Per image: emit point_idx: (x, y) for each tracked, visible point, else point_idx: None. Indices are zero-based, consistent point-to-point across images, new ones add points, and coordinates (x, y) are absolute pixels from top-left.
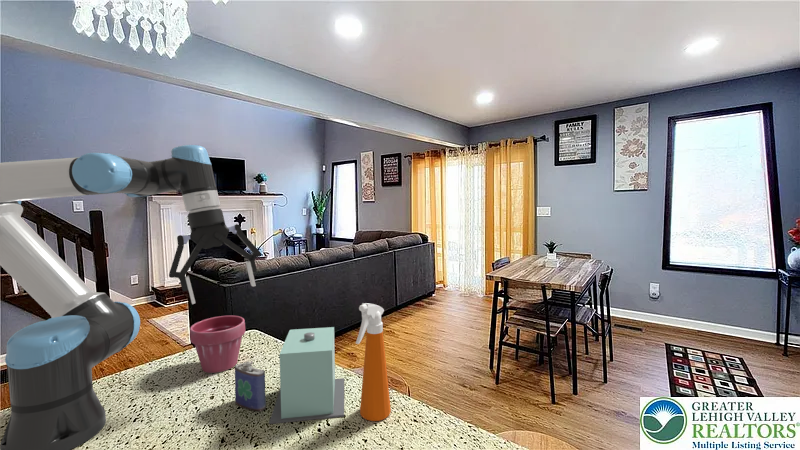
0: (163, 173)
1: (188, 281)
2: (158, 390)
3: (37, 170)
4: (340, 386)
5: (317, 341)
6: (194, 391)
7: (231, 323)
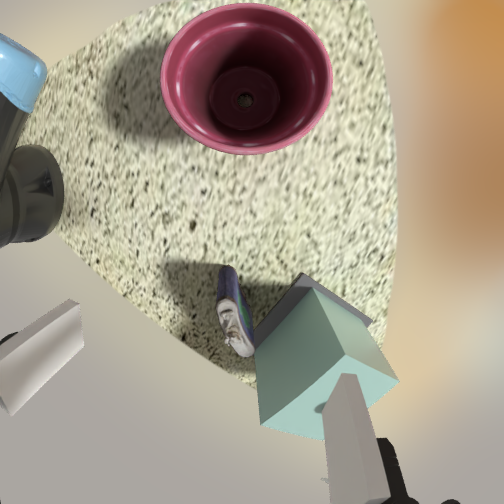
0: None
1: (19, 399)
2: (124, 131)
3: None
4: None
5: None
6: (172, 180)
7: (301, 41)
